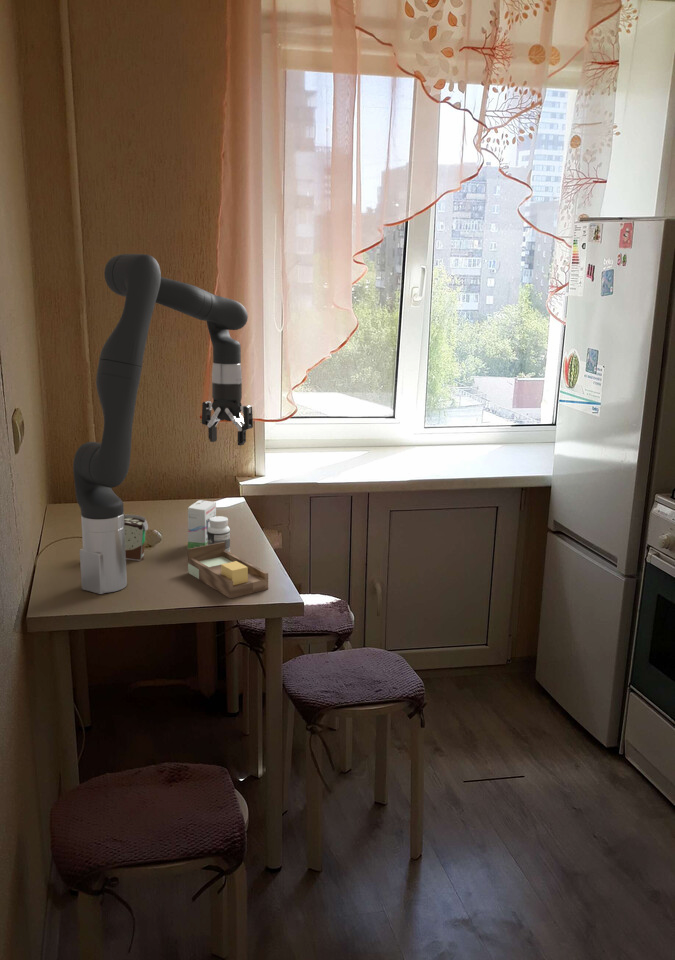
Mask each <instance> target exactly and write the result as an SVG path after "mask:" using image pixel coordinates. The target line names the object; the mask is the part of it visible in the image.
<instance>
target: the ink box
mask: <svg viewBox="0 0 675 960" xmlns="http://www.w3.org/2000/svg"><path fill="white" fill-rule="evenodd" d="M216 516H217V502H216V501H210V500H205V499H204V500H203V499H199V500H197V501H196V502H194V503H192V504H191V505H190V506H188V508H187V550H188V549H190V548H195V547H200V546H205V545H208V535H207V530H208V528H209V527H210V523H209V519H210V518H211V517H216Z"/></svg>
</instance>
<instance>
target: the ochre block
mask: <svg viewBox="0 0 675 960" xmlns="http://www.w3.org/2000/svg"><path fill="white" fill-rule="evenodd" d="M221 574H222V575H223V576H225V577H227V578H228V579H230V580H232V581H233V585H237V584H241V583H245V582H248V567H247V566H245V565H243V564H241V563H239V562H237V561H234V562H230V563H225V564H221Z"/></svg>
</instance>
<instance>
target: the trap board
mask: <svg viewBox="0 0 675 960" xmlns="http://www.w3.org/2000/svg"><path fill="white" fill-rule="evenodd" d="M222 556H223V557H225V558H226V559H228V560H230V561H232V562H234V561H237V562H239V563H241V564H243V565H245V566H247V567H248V582H245V583H241V584H237V585H233V581H232V580H230V579H228V578H227V577H225V576H223V575H222V574H221V565H217V566H212V567H208V566H206V565H204V564H202V563H201V562H199V561H203V560H208V559H213V558H217V557H222ZM188 563H189V564H191V565H192V566H194V567H196V568H197V569H199V579H198V580H199V581H201V582H203V583H204V584H206V585H207V586H209V587H211V588H212V589H214V590H216V591H217V592H219V593H220V594H223V595H224V596H225V597H227V598H228V599H233V598H238V597H242V596H246V595H249V594H250V595H251V594H253V593H254V594H255V593H259V592H262V591H266V590H269V572H267V571H265V570H264V569H261V568H260V567H258V566H256V565H254V564H252V563H250V562H248V561H246V560H245V559H242V558H241V557H238V556H237V555H235V554H233V553H231V552H230V553H229V552H227V551H226V550H225V542H220V543H215V544H210V545H205V546H200V547H195V548H190V549H188V548H187V564H188Z"/></svg>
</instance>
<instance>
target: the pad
mask: <svg viewBox="0 0 675 960" xmlns="http://www.w3.org/2000/svg"><path fill="white" fill-rule="evenodd" d="M199 562H201V563H202V564H204V565H206V566H208V567H212V566H217V565H221V564H225V563H230V562H232V561H230V560H228V559H226V558H225V557H223V556H222V557H217V558H213V559H208V560H203V561H199ZM187 572H188V574H189V575H191V576H193V577H195V578H196V579H198V580H199V569H197V568H196V567H194V566H192V565H191V564H189V563H188V562H187Z"/></svg>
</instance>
